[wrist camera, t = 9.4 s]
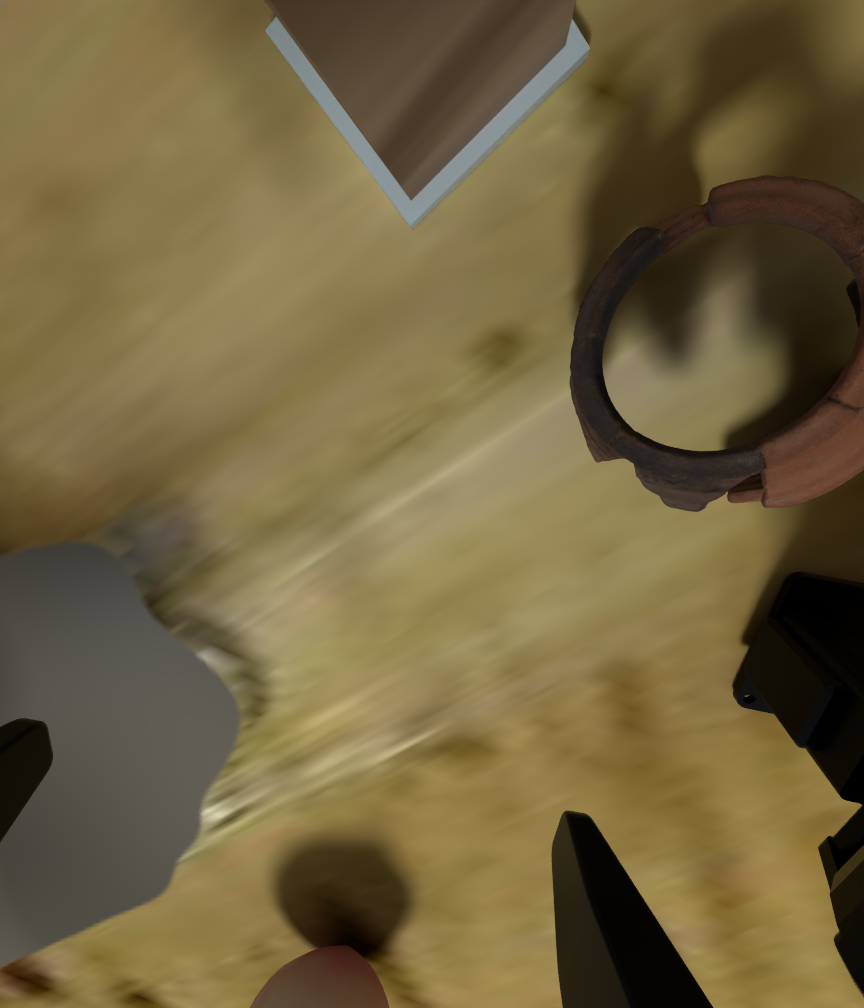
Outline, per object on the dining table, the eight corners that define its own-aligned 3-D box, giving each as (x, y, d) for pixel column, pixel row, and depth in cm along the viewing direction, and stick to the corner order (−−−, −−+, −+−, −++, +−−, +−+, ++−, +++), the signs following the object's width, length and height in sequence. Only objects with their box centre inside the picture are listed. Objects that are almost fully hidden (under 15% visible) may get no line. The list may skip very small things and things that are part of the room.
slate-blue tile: (586, 58, 15) (590, 48, 14) (412, 229, 17) (409, 225, 16) (442, -177, 13) (439, -198, 13) (273, 41, 16) (264, 31, 15)
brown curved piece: (665, 541, 20) (619, 572, 13) (574, 345, 22) (492, 283, 15) (1089, 395, 14) (1413, 312, 7) (915, 136, 16) (1040, -132, 9)
